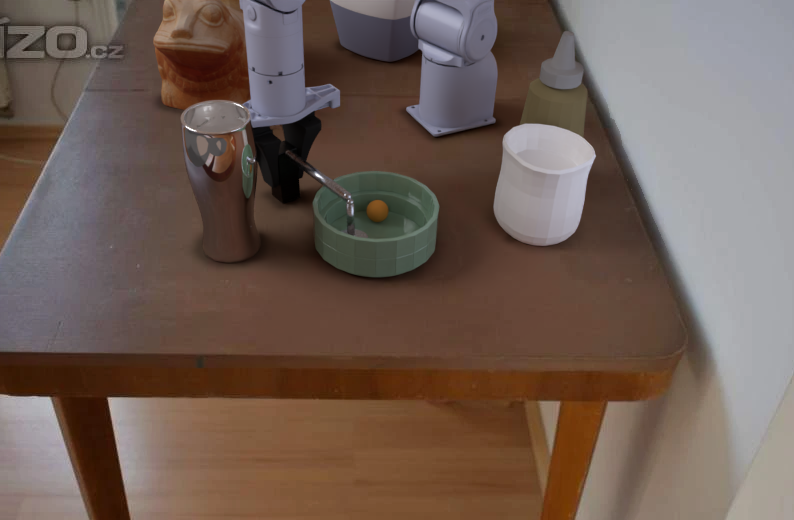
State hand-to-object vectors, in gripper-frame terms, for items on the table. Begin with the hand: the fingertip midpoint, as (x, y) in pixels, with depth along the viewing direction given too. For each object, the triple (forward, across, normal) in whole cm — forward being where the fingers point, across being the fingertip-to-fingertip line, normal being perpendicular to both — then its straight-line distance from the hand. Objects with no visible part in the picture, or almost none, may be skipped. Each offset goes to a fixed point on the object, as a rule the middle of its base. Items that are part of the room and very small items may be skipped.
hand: (283, 179), depth 95 cm
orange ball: (0, -5, +11) cm, 12 cm away
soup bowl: (+2, -3, +14) cm, 14 cm away
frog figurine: (+2, -8, -28) cm, 30 cm away
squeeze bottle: (+2, -27, +15) cm, 31 cm away
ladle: (+2, 0, +7) cm, 7 cm away
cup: (+2, -20, +21) cm, 29 cm away
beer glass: (+2, +10, +5) cm, 11 cm away
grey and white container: (+2, -34, -27) cm, 44 cm away
